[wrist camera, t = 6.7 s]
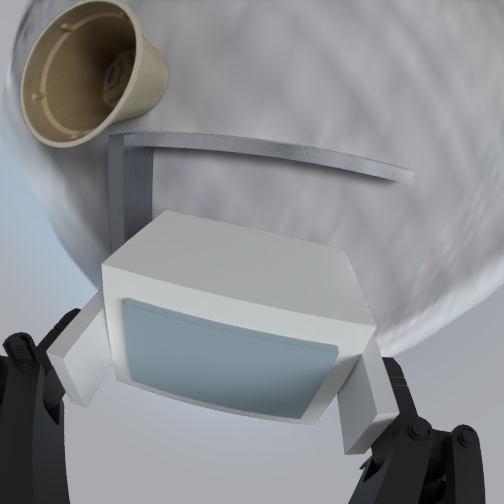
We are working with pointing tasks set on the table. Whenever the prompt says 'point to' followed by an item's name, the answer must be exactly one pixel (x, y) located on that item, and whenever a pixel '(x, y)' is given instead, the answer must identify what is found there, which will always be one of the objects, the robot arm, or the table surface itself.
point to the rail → (142, 149)
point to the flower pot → (89, 73)
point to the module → (234, 318)
